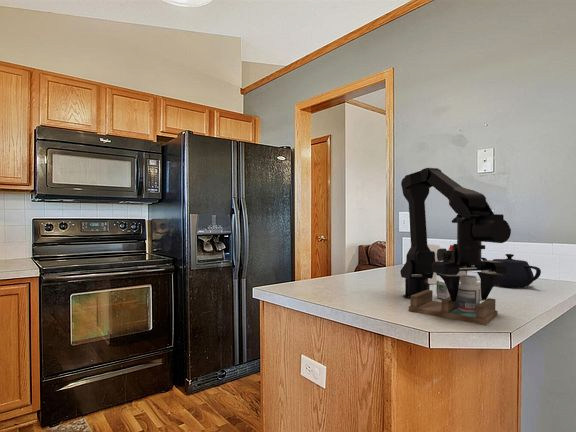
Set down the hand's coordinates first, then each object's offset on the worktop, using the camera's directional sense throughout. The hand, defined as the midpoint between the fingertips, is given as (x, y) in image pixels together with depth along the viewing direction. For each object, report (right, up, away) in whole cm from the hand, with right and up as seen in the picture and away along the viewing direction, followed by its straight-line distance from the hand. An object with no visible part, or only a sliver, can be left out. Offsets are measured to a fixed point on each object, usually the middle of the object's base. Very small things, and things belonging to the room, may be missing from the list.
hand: (468, 300), depth 93 cm
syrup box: (+16, -2, +22) cm, 27 cm away
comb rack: (-3, -4, +3) cm, 6 cm away
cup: (+8, -5, +50) cm, 51 cm away
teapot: (+38, -5, +46) cm, 60 cm away
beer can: (+14, -5, +35) cm, 38 cm away
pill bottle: (0, -3, 0) cm, 3 cm away
